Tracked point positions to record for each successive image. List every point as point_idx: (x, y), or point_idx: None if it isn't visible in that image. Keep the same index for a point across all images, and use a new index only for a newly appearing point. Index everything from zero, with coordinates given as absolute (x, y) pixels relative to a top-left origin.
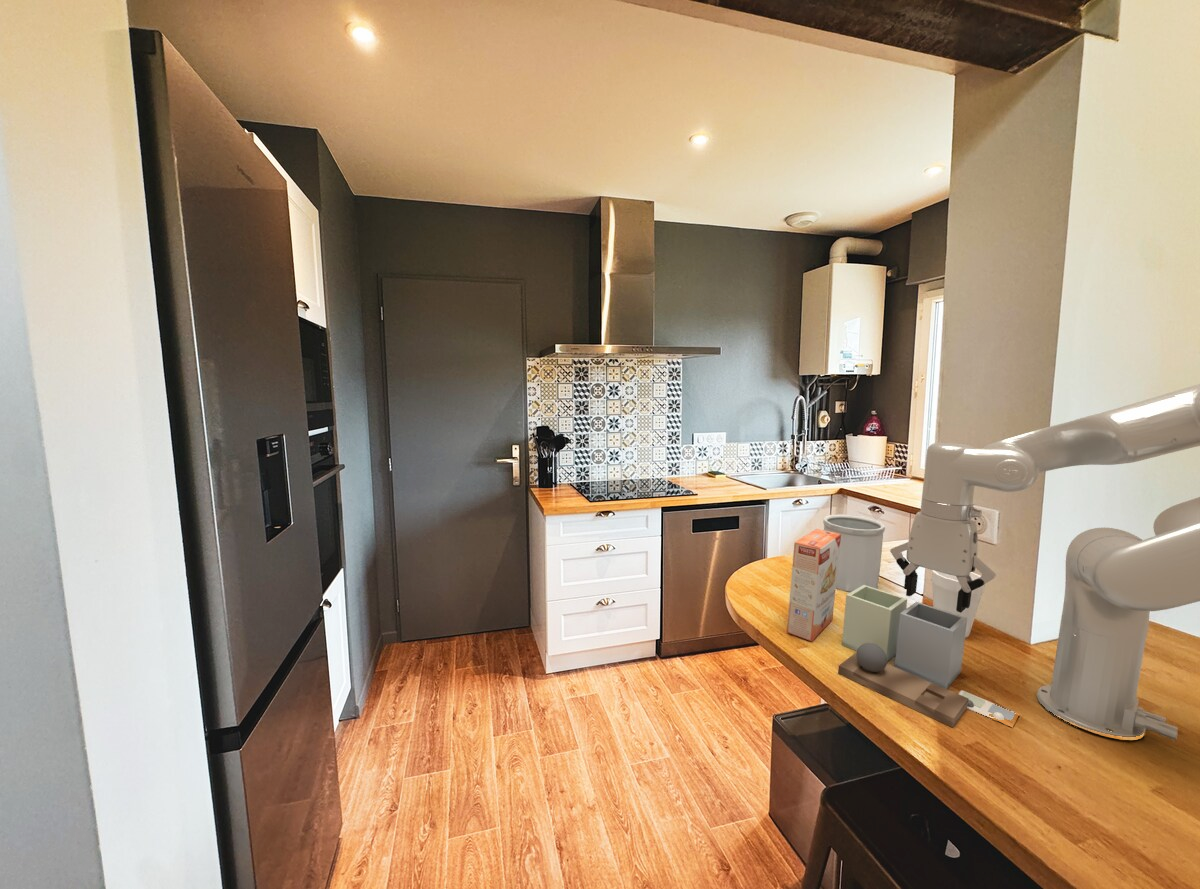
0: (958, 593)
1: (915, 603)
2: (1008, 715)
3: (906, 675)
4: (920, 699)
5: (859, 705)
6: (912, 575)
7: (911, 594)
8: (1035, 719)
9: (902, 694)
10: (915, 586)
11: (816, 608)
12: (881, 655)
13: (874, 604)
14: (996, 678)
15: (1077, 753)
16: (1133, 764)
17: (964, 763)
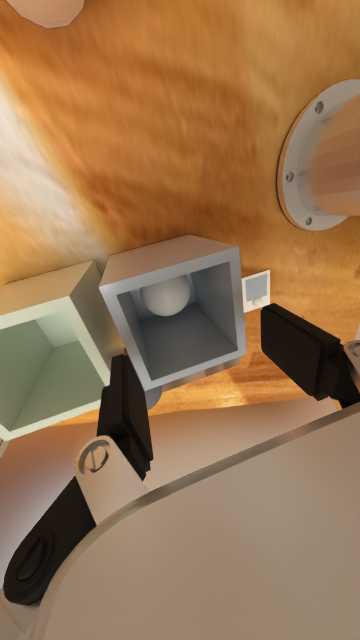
0: (305, 391)
1: (111, 305)
2: (263, 287)
3: None
4: (207, 370)
5: (173, 409)
6: (144, 462)
7: (142, 389)
8: (281, 258)
9: (193, 380)
10: (131, 381)
11: (1, 442)
12: (159, 397)
13: (83, 412)
14: (224, 188)
15: (314, 281)
16: (351, 245)
17: (255, 382)
